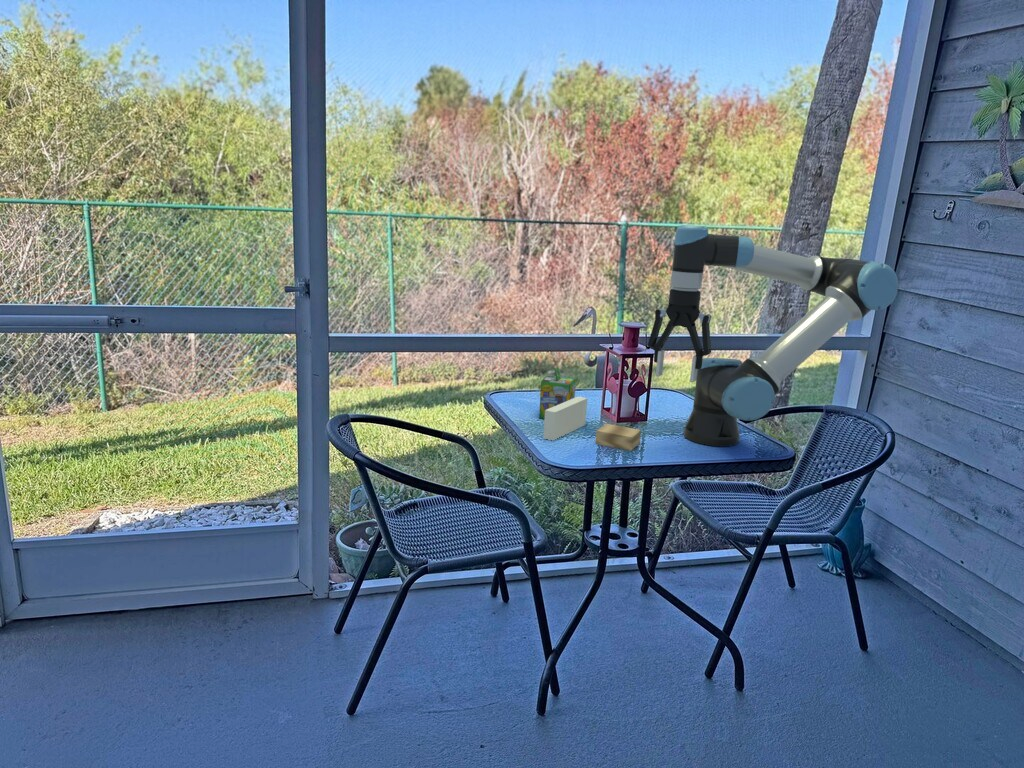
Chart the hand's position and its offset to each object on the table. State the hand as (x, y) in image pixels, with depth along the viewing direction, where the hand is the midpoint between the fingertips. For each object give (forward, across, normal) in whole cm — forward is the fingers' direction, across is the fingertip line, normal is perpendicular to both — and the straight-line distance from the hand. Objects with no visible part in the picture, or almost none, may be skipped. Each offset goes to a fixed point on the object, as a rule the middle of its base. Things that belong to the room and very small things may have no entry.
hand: (675, 378), depth 187 cm
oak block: (+21, +14, 0) cm, 25 cm away
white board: (+20, +30, 0) cm, 36 cm away
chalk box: (+21, +39, -12) cm, 46 cm away
